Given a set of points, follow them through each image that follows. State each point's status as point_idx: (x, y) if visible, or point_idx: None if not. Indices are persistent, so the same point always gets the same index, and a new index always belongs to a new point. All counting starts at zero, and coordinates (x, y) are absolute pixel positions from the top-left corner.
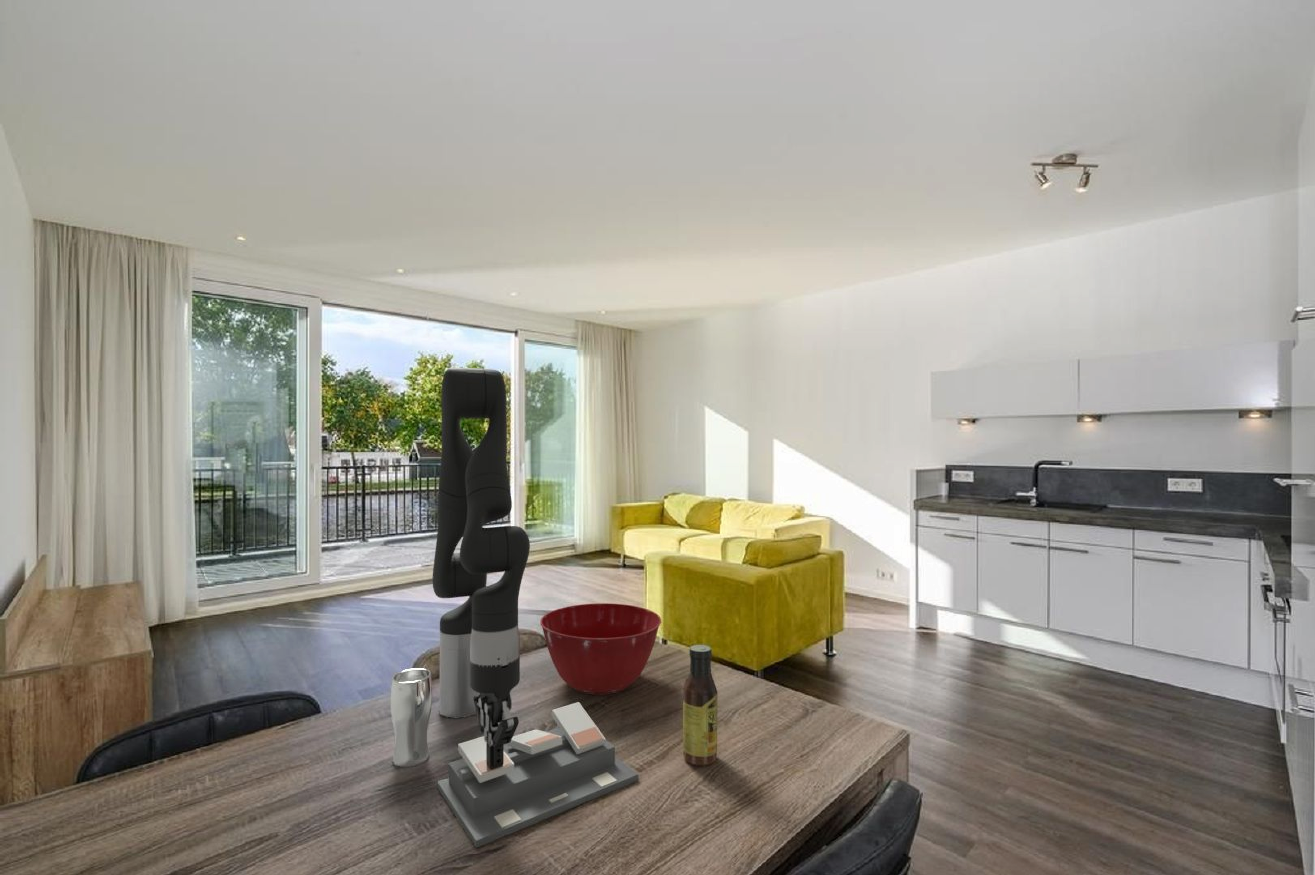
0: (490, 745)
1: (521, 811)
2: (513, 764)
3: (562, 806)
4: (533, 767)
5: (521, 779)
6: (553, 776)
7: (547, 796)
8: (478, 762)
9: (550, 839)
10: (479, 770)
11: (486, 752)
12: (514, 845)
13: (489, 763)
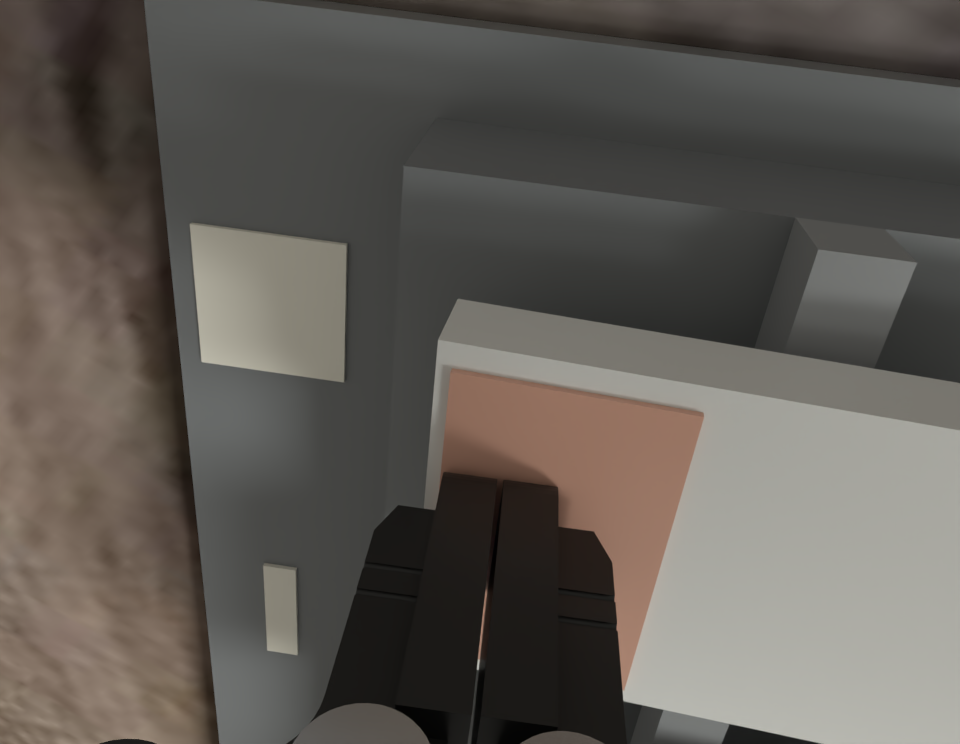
0: (333, 730)
1: (289, 408)
2: None
3: (205, 581)
4: None
5: None
6: None
7: (340, 583)
8: (689, 455)
9: (19, 391)
10: (532, 383)
11: (555, 603)
12: (65, 211)
13: (451, 512)
